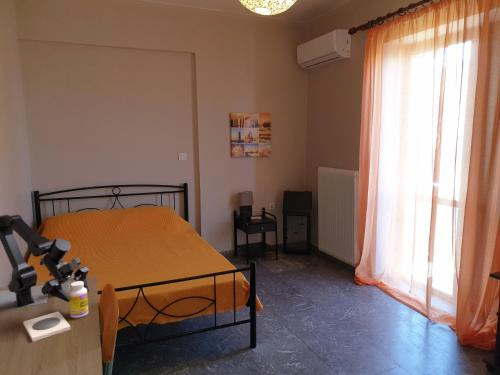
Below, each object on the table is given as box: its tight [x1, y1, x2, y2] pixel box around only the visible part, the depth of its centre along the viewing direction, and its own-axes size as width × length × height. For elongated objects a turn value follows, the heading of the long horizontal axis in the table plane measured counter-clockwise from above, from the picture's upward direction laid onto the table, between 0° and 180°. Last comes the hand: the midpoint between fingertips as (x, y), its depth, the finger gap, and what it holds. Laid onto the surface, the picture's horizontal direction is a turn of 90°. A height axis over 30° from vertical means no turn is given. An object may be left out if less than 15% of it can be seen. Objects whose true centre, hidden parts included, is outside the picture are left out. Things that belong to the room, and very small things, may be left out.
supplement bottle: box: [67, 281, 89, 319], centre depth 142 cm, size 7×7×13 cm
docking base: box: [23, 311, 72, 343], centre depth 134 cm, size 16×12×1 cm
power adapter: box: [61, 281, 71, 293], centre depth 163 cm, size 3×5×12 cm, turn 125°
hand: (78, 296), depth 142 cm, fingers open, 9 cm apart
